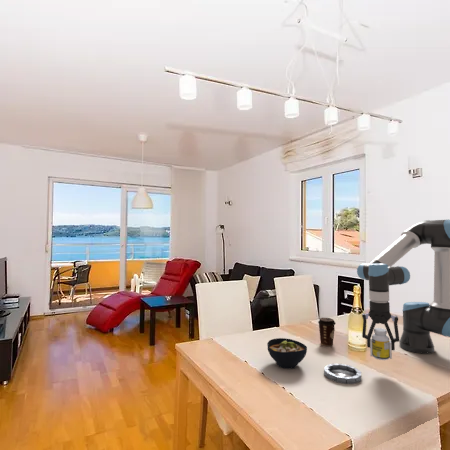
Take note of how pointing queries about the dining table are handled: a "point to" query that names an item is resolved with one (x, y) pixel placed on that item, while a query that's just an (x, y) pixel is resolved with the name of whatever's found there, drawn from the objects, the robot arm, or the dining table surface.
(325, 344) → the coffee cup
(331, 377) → the ring seat
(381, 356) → the pill bottle
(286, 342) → the bowl
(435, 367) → the dining table surface
